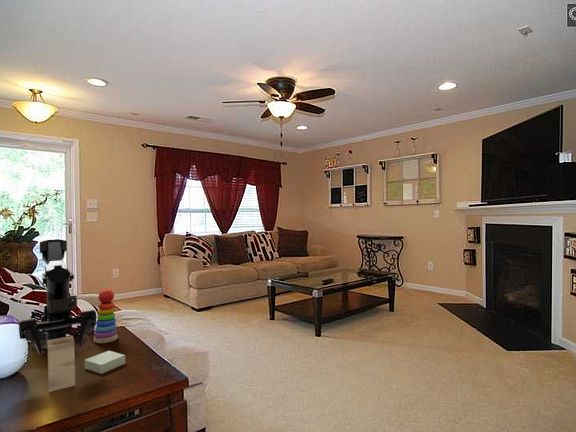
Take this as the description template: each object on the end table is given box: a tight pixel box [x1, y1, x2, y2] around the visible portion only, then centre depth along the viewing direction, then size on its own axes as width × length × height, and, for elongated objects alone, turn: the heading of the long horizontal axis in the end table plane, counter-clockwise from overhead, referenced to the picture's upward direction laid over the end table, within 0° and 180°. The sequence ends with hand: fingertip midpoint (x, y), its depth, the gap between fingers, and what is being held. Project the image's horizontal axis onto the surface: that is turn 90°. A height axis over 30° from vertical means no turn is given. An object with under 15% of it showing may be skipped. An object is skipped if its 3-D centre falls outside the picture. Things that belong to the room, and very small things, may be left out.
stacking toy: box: [93, 289, 119, 344], centre depth 131 cm, size 8×8×19 cm
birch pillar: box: [47, 335, 76, 393], centre depth 98 cm, size 6×6×12 cm
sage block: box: [84, 350, 126, 375], centre depth 110 cm, size 8×8×3 cm
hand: (60, 350), depth 99 cm, fingers open, 9 cm apart
